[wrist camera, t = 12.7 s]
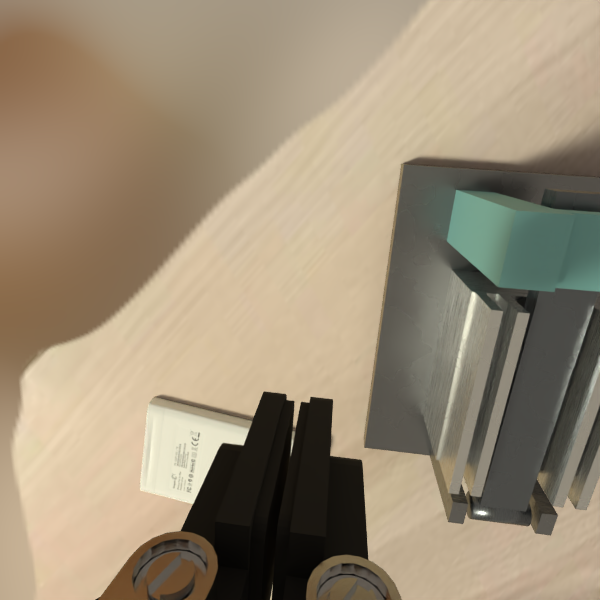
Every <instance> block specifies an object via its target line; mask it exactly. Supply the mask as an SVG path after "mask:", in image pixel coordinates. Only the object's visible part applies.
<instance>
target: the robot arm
mask: <svg viewBox="0 0 600 600" xmlns="http://www.w3.org/2000/svg"><path fill="white" fill-rule="evenodd" d="M286 399H287V397H286V394H280V393H272V392H263V395H262V397H261V400H260V403H259V405H258V408H257V411H256V413H255V416H254V419H253V421H252V424H251V427H250V429H249V432H248V435H247V437H246V440H245V443H244V445H237V444H229V443H222V444H221V446H220V447H219V449H218V451H217V453H216V456H215V458H214V460H213V462H212V464H211V466H210V469H209V471H208V473H207V475H206V477H205V479H204V482H203V484H202V486H201V488H200V490H199V492H198V495H197V497H196V499H195V501H194V503H193V506H192V508H191V510H190V512H189V514H188V516H187V519H186V521H185V523H184V525H183V527H182V529H181V531H178V532H170V533H165V534H162V535H160V536H157V537H154V538H152V539H151V540H149V541H148V542H146V543H144V544H143V545H141V546H140V547H139V548H138V549H137V550H136V551H135V552H134V553H133V554H132V555H131V557H130V558H129V559H128V560H127V562H126V563H125V564H124V566H123V567H122V569H121V570H120V571H119V573H118V574H117V575H116V577H115V578H114V579H113V581H112V582H111V583H110V585H109V586H108V587H107V589H106V590H105V591H104V593H103V594H102V595H101V597H99V598H98V599H96V600H270V596H271V591H272V585H273V591H272V600H402V599H401V596H400V594H399V592H398V590H397V587H396V585H395V583H394V582H393V580H392V579H391V578H390V577H389V575H388V574H387V573H386V572H385V571H384V570H383V569H381V568H380V567H379V566H377V565H376V564H375V563H373V562H371V561H369V560H368V547H367V531H366V514H365V498H364V482H363V466H362V460H358V459H350V458H341V457H333V456H330V447H331V428H332V409H333V399H324V398H316V397H311V398H310V403H306V402H301V405H300V410H299V416H298V421H297V426H296V431H295V436H294V442H293V447H292V452H291V444H292V430H293V416H294V401H289V400H286Z"/></svg>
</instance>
